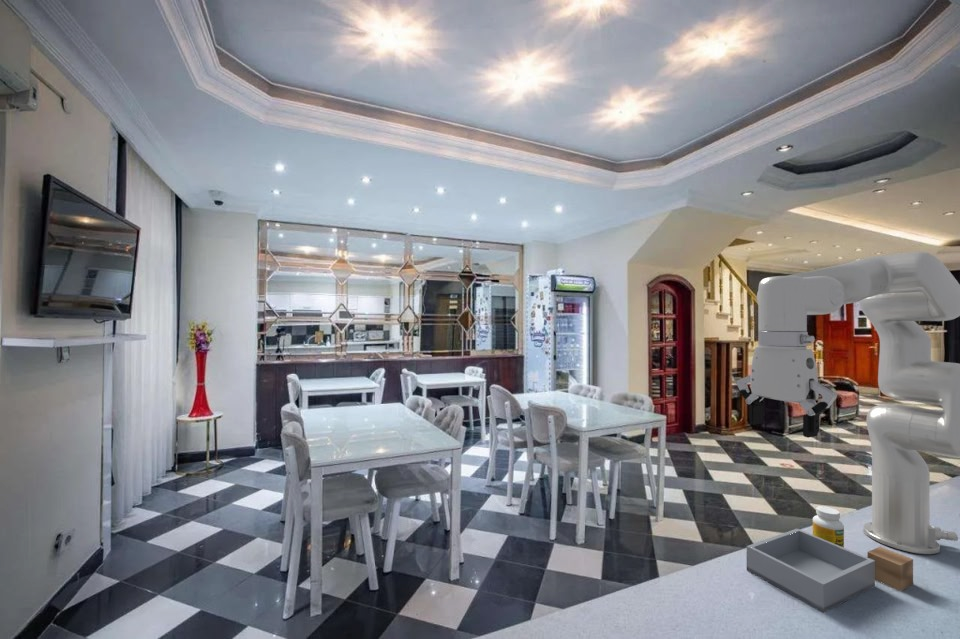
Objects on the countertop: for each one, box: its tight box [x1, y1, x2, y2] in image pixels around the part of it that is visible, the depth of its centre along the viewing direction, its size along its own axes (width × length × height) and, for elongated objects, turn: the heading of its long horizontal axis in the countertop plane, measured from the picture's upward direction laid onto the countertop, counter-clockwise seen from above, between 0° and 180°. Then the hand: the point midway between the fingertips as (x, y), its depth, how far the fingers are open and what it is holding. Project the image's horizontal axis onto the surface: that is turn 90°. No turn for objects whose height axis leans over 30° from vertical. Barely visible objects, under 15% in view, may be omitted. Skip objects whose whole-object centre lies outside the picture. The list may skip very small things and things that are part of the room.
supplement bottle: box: [812, 505, 845, 548], centre depth 92 cm, size 5×5×10 cm
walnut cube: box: [866, 546, 914, 592], centre depth 82 cm, size 5×5×5 cm
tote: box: [746, 528, 876, 614], centre depth 83 cm, size 18×14×5 cm
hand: (781, 429), depth 79 cm, fingers open, 9 cm apart
